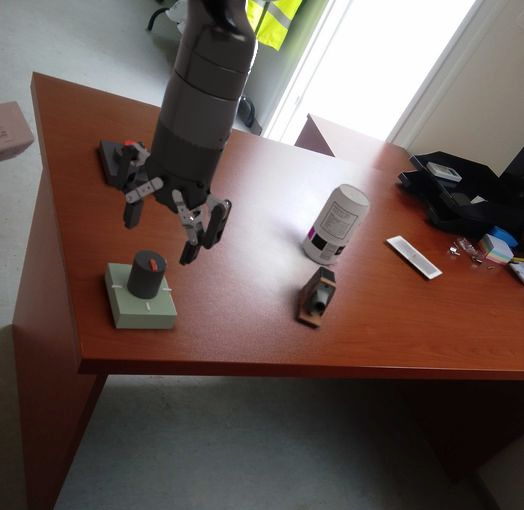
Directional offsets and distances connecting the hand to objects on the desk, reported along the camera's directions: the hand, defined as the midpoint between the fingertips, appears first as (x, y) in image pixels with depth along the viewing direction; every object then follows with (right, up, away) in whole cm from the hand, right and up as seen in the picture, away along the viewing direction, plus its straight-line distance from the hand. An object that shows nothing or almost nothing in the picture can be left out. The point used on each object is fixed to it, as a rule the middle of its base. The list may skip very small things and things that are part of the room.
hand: (157, 244), depth 59 cm
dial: (-4, -5, +6) cm, 8 cm away
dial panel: (-5, -7, +8) cm, 11 cm away
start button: (-11, +23, +27) cm, 37 cm away
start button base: (-12, +21, +30) cm, 38 cm away
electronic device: (+22, -7, +24) cm, 33 cm away
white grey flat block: (+52, +9, +58) cm, 78 cm away
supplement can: (+26, +7, +39) cm, 47 cm away
